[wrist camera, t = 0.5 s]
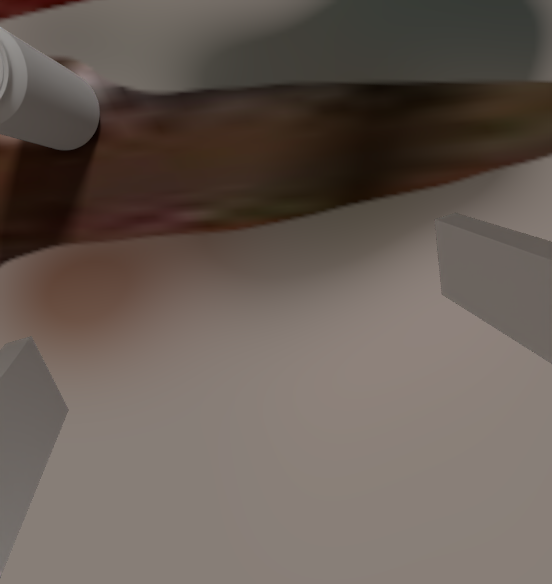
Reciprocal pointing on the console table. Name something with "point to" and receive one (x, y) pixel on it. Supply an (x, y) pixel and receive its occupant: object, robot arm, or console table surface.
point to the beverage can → (43, 98)
